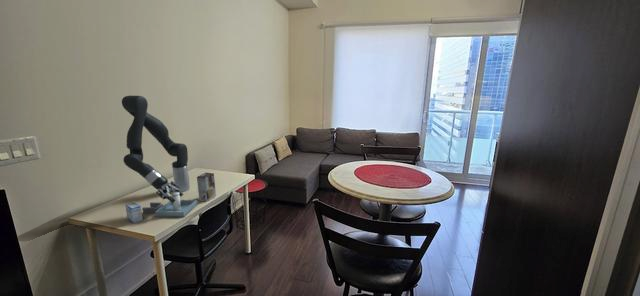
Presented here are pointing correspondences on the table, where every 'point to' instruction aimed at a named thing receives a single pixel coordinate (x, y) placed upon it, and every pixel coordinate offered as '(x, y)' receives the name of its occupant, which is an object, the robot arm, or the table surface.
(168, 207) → the parts tray
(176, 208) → the white dome cap bottle
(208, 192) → the coffee box
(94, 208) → the table surface
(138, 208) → the medicine box
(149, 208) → the holder
